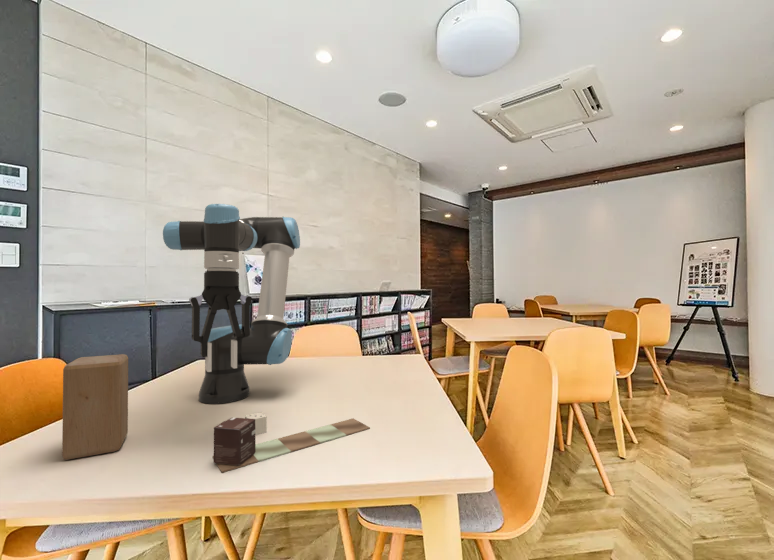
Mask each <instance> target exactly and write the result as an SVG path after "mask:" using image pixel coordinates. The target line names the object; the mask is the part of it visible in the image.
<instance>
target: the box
mask: <svg viewBox="0 0 774 560" xmlns="http://www.w3.org/2000/svg"><path fill="white" fill-rule="evenodd" d="M255 444H256V435H255V419H248V418H245V417H230V418H228V419H227V420H224V421H222V422H220V423H219V424H217V425H216V426H214V427H213V456H214V459H213V463H214V464H216V463H218V464H229V465H241V464H242V463H243V462H245V461H246V460H247V459H248V458H250V457H251V456H252V455H253V454H254V453H255V452H256V449H255Z"/></svg>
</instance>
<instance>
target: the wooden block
mask: <svg viewBox="0 0 774 560" xmlns="http://www.w3.org/2000/svg"><path fill="white" fill-rule="evenodd" d="M128 422H129V357H128V354H125V353H121V354H120V353H119V354H109V355H96V356H95V355H94V356H81V357H80V356H79V358H76V359H74V360H72V361H71V362H69V363H67V364H65V366H64V367H63V368H62V439H61V441H62V445H61V447H62V448H61V449H62V450H61V455H62V458H63V460H74V459H80V458H85V457H90V456H91V457H92V456H95V455H103V454H108V453H113V452H117V451H120V449H121V447H122V445H123V443H124V442H125V440H126V437H127V435H128V432H129V431H128V427H129V425H128V424H129V423H128Z"/></svg>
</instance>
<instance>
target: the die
mask: <svg viewBox="0 0 774 560" xmlns="http://www.w3.org/2000/svg"><path fill="white" fill-rule="evenodd" d="M244 418H248V419H255V436H258V435H261V434H265V433H267V416H266V415H265V414H264V413H263V412H262V411H261V412H255V413H252V414H246V415H244Z"/></svg>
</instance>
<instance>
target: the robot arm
mask: <svg viewBox="0 0 774 560" xmlns="http://www.w3.org/2000/svg"><path fill="white" fill-rule="evenodd" d="M204 208H205V209H204V217H203V221H200V220H199V221H193V220H192V221H191V220H189V221H188V220H186V221H182V220H181V221H180V220H178V221H176V220H175V221H168V222H166V224H165V225H164V227H163V230H162V236H163V237H162V239H163V242H164V244H165V246H166V247H167V248H168V249H170V250H173V251H174V250H175V251H177V250H178V251H193V250H194V251H195V250H196V251H197V250H198V251H199V250H200V251H201V250H202V251H204V257H203V259H204V260H203V261H204V262H203V264H204V265H203V269H205V271H204V273H203V291H202V292H201V294H199V295H198V296H194V297H193V296H192V297H190V298H189V300H188V302H189V303H190V306H191V339H192V340H193V341H194V342H198V343H200V356H201V357H202V358H204V366H205V367H204V370H205V371H204V378H203V380H202V383H201V386H200V388H199V389H200V390H199V392H198V401H199V402H200V403H203V404H211V405H212V404H213V405H216V404H218V405H219V404H226V403H233V402H237V401H241V400H244V399H245V398H247V397H248V396H249V395H250V385H249V382H248V379H247V376H246V373H245V365H249V366H250V365H269V366H271V365H280V364H283V363H284V362H286V360H287V359H288V357H289V354H290V351H291V348H292V340H293V333H292V330H291V329H290V328H288V323H287V322H286V321H285V319H284V318H285V308H286V307H285V306H286V305H285V304H286V297H287V285H288V274H289V266H290V265H289V263H290V258H291V257H292V256H293V255H294V254H295V250H297V249H299V248H300V246H301V239H300V238H301V236H300V229H299V225H298V222H297V220H296V219H295V218H293V217H289V216H288V217H286V216H282V217H280V216H279V217H278V216H275V217H274V216H272V217H271V216H268V217H267V216H253V217H252V216H251V217H244V218H240V210H239V209H238V207H236V206H235V205H232V204H225V203H211V204H208V205H206V206H205V207H204ZM252 249H260V250H261V252H262V254H264V259H263V260H264V261H263V267H262V268H263V270H262V276H261V282H260V283H261V284H260V292H259V299H258V306H257V314H256V315H257V316H256V318H255V319H253V320H252V321H251V325H250V317H251V316H250V313H251V311H250V308H251V307H250V306H251V304H252V300H253V297H252V296H250V295H249V296H248V295H244V294H242V293H241V290H240V273H239V272H238V271H237V270H238V269H240V268H239V267H240V256H239V255H240V252H248V251H250V250H252ZM239 300H240V304H241V324H240V323H239V321H238V320H239V319H238V317H237V314H236V313H237V311H236V308H235V305H236V304H237V303H238V301H239ZM203 301H204V302H205V303H206V305H208V308H207V314H206V318H205V320H204V326H203V328H202V332H201V335H200V323H201V321H200V320H201V319H200V317H201V312H200V311H201V307H200V306H201V305H202V302H203ZM220 310H225V311H226V313H227V317H228V319H229V322H230V325H224V326H219V327H213V325H214V321H215V318H216V314H217V312H218V311H220Z"/></svg>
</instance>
